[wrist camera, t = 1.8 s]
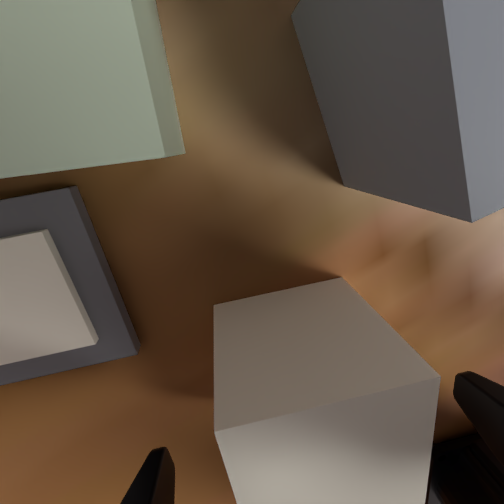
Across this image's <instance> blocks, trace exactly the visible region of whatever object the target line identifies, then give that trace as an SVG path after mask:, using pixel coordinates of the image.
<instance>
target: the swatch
mask: <svg viewBox="0 0 504 504" xmlns="http://www.w3.org/2000/svg"><path fill="white" fill-rule="evenodd" d="M140 346H141V345H140V342H139V340H138V337H137V335H136V332H135V330H134V327H133V325H132V322H131V320H130V317H129V315H128V312H127V310H126V307H125V305H124V302H123V300H122V297H121V295H120V292H119V290H118V287H117V285H116V282H115V280H114V277H113V275H112V272H111V270H110V267H109V265H108V262H107V260H106V257H105V255H104V252H103V250H102V247H101V245H100V242H99V240H98V237H97V235H96V232H95V230H94V227H93V225H92V222H91V220H90V217H89V215H88V212H87V210H86V207H85V205H84V202H83V200H82V197H81V195H80V192H79V190H78V187H77V186H72V187H66V188H61V189H56V190H50V191H45V192H39V193H34V194H28V195H23V196H18V197H12V198H7V199H1V200H0V385H5V384H9V383H14V382H18V381H23V380H27V379H31V378H36V377H40V376H45V375H49V374H54V373H58V372H62V371H67V370H71V369H76V368H80V367H85V366H89V365H93V364H98V363H102V362H107V361H111V360H116V359H120V358H124V357H129V356H133V355H137V354H138V352H139V349H140Z"/></svg>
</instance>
